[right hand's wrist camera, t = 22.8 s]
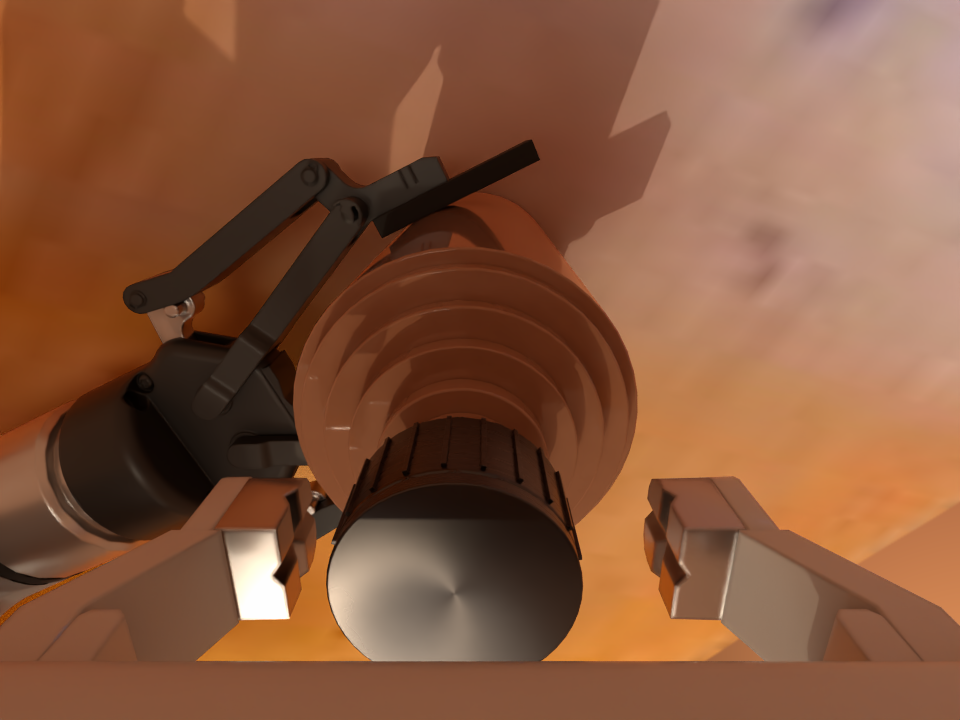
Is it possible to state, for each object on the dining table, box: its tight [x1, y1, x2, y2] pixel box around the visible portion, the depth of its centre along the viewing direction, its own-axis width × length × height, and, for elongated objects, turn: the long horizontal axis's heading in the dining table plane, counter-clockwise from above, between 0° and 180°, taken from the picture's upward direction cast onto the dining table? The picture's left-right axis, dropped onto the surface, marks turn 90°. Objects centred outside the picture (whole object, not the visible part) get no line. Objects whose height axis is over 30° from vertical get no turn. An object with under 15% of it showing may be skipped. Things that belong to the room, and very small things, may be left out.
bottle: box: [293, 192, 637, 526], centre depth 19 cm, size 8×8×22 cm
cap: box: [326, 416, 583, 661], centre depth 9 cm, size 4×4×2 cm
